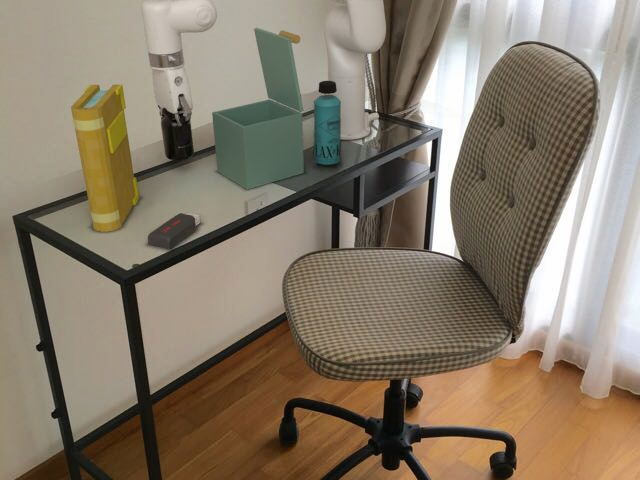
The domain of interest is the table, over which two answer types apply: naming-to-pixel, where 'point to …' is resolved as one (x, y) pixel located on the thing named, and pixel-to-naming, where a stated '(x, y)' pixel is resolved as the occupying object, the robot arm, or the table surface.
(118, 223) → the book
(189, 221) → the usb drive
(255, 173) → the bin
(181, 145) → the supplement bottle
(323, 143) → the beverage bottle
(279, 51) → the bin lid
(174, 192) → the table surface
